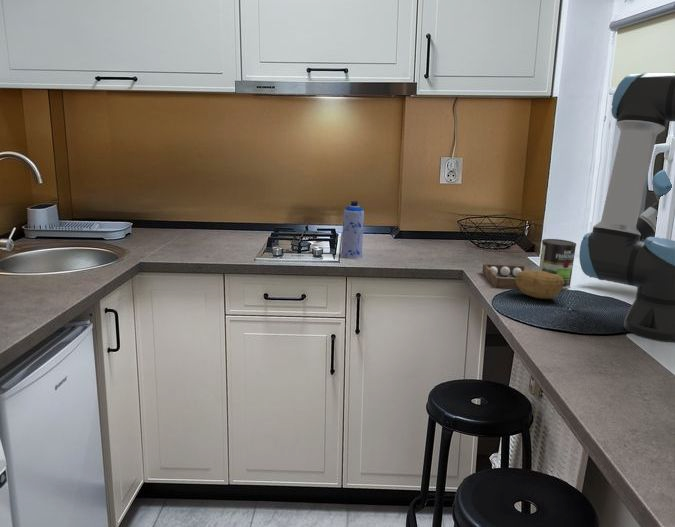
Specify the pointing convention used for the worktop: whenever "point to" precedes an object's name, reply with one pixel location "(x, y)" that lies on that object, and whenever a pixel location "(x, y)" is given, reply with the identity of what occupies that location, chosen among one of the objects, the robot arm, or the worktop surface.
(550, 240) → the coffee can
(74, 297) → the worktop surface
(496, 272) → the pebble
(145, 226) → the worktop surface
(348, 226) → the aerosol can
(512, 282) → the tray frame
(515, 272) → the white ball
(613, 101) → the robot arm
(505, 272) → the pebble
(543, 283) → the potato
